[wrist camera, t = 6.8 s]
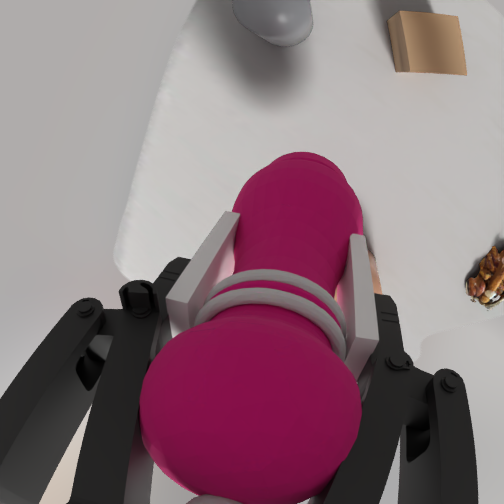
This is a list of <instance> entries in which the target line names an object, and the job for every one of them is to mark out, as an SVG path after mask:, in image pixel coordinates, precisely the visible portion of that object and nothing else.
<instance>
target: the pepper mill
mask: <svg viewBox="0 0 504 504" xmlns="http://www.w3.org/2000/svg"><path fill="white" fill-rule="evenodd" d="M232 212H234V213H240V218H239V222H238V226H237V231H236V236H235V243H234V261H235V265H234V272H233V275H231V276H229V277H227V278H225V279H223V280H222V281H221V282H219V283H218V284H217V285H215V286H214V287H213V288H212V290H211V291H210V293H209V294H208V296H207V297H206V299H205V302H204V304H203V307H202V309H201V310H200V312H199V313H198V314H197V316H196V319H195V322H194V326H193V327H192V328H190V329H188V330H186V331H184V332H181V333H179V334H178V335H176V336H175V337H174V338H172V339H171V340H169V341H168V342H167V343H166V345H165V346H164V347H163V348H162V350H161V351H160V352H159V353H158V355H157V356H156V357H155V358H154V360H153V361H152V363H151V364H150V366H149V368H148V371H147V373H146V375H145V377H144V380H143V385H142V390H141V395H140V404H139V423H140V431H141V436H142V440H143V444H144V446H145V448H146V449H147V451H148V453H149V454H150V456H151V458H152V460H153V461H154V462H155V463H156V464H157V466H158V467H159V468H160V469H161V470H162V471H163V472H164V474H166V475H167V476H168V477H169V478H171V479H172V480H173V481H175V482H176V483H177V484H179V485H180V486H181V487H183V488H185V489H187V490H188V491H191V492H192V493H194V494H196V495H198V497H195V498H193V499H192V500H190V501H189V502H188V503H186V504H297V503H300V502H303V501H305V500H307V499H309V498H311V497H313V496H315V495H317V494H319V493H321V492H322V490H323V489H324V488H325V487H326V485H327V484H328V483H329V482H330V480H331V479H332V478H333V476H334V475H335V473H336V471H337V470H338V468H339V466H340V464H341V463H342V461H344V460H345V459H346V457H347V455H348V454H349V452H350V450H351V448H352V446H353V444H354V442H355V440H356V438H357V435H358V431H359V426H360V421H361V416H362V407H361V399H360V391H359V387H358V385H357V383H356V380H355V378H354V376H353V374H352V372H351V371H350V370H349V369H348V367H347V366H346V365H345V364H344V361H345V357H346V342H345V338H346V329H347V328H346V322H345V317H344V315H343V312H342V310H341V308H340V306H339V305H338V303H337V302H336V301H335V300H334V297H335V291H336V288H337V285H338V283H339V281H340V279H341V278H342V276H343V274H344V270H345V266H346V261H347V255H348V248H349V240H350V236H351V235H352V234H359V235H363V217H362V210H361V207H360V204H359V201H358V198H357V196H356V195H355V193H354V191H353V189H352V188H351V187H350V186H349V184H348V183H347V181H346V178H345V176H344V175H343V173H342V172H341V170H340V169H339V168H338V167H337V166H336V165H335V164H334V163H333V162H331V161H330V160H328V159H326V158H325V157H323V156H320V155H317V154H315V153H310V152H294V153H289V154H286V155H283V156H281V157H279V158H277V159H276V160H274V161H273V162H272V163H271V164H270V165H268V166H266V167H265V168H263V169H261V170H260V171H258V172H256V173H255V174H254V175H253V176H252V177H251V178H250V179H249V180H248V181H247V182H246V183H245V185H244V186H243V188H242V189H241V191H240V193H239V195H238V197H237V199H236V201H235V204H234V207H233V210H232Z"/></svg>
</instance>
